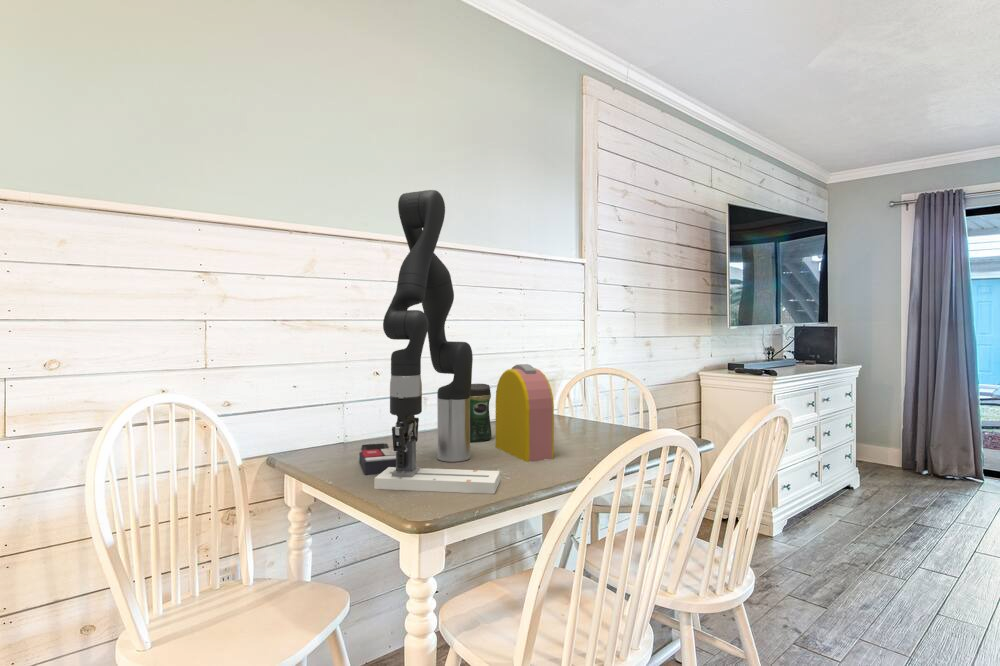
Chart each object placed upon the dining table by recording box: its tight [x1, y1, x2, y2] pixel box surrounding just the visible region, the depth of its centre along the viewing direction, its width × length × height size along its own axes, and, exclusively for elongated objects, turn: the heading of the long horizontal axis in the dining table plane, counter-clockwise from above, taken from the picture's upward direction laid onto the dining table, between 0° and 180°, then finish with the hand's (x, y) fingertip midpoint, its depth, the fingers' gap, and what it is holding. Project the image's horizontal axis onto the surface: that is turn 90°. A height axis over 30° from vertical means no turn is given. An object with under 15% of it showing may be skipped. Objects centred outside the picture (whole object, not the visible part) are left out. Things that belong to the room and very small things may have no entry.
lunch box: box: [495, 363, 555, 463], centre depth 163 cm, size 21×9×26 cm, turn 25°
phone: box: [361, 443, 389, 451], centre depth 164 cm, size 8×1×15 cm
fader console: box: [373, 467, 501, 495], centre depth 130 cm, size 10×28×3 cm, turn 83°
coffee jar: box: [470, 383, 492, 443], centre depth 181 cm, size 10×8×19 cm
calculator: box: [358, 448, 396, 476], centre depth 147 cm, size 11×4×15 cm
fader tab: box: [392, 439, 421, 477], centre depth 131 cm, size 6×5×8 cm
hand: (405, 464), depth 131 cm, fingers open, 5 cm apart
